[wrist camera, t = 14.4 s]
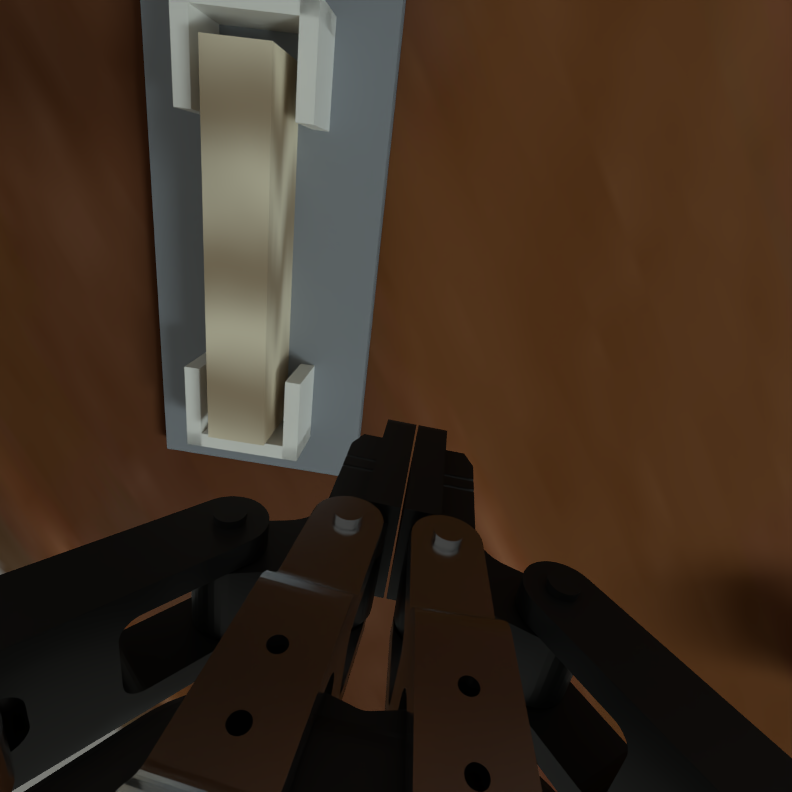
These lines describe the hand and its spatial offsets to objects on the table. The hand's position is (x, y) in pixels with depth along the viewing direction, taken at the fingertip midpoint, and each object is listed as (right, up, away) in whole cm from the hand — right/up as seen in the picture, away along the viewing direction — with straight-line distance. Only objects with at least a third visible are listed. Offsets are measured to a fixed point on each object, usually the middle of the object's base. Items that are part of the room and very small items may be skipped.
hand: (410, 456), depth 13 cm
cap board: (-7, +10, +15) cm, 19 cm away
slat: (-7, +9, +14) cm, 18 cm away
